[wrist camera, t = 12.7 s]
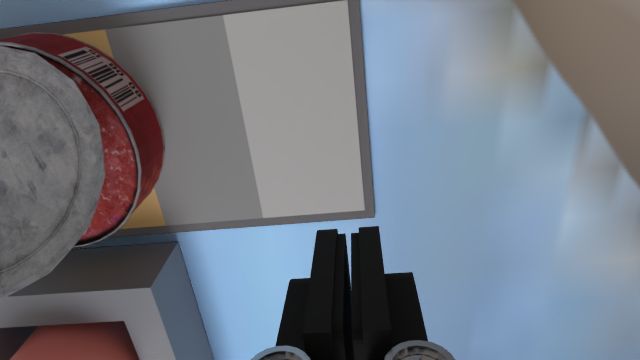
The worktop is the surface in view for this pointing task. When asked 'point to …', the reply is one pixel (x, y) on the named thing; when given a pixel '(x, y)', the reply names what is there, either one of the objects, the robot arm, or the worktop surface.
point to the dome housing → (114, 300)
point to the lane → (245, 110)
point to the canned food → (68, 151)
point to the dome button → (79, 342)
